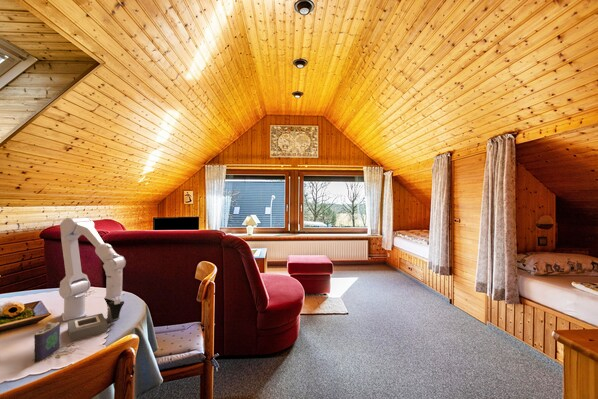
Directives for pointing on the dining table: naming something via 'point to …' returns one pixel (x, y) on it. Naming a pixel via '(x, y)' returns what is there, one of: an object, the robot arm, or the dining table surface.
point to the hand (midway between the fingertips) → (113, 315)
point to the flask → (47, 341)
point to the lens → (109, 317)
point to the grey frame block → (86, 327)
